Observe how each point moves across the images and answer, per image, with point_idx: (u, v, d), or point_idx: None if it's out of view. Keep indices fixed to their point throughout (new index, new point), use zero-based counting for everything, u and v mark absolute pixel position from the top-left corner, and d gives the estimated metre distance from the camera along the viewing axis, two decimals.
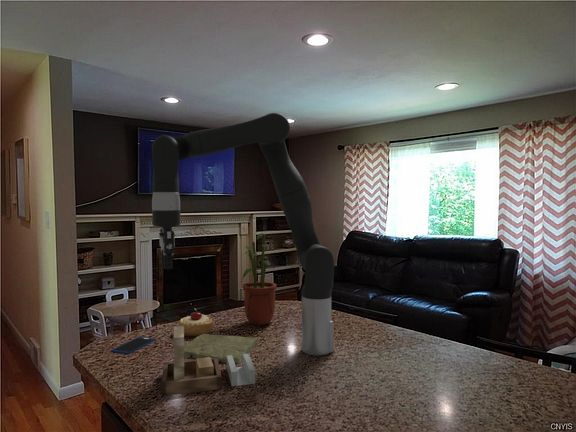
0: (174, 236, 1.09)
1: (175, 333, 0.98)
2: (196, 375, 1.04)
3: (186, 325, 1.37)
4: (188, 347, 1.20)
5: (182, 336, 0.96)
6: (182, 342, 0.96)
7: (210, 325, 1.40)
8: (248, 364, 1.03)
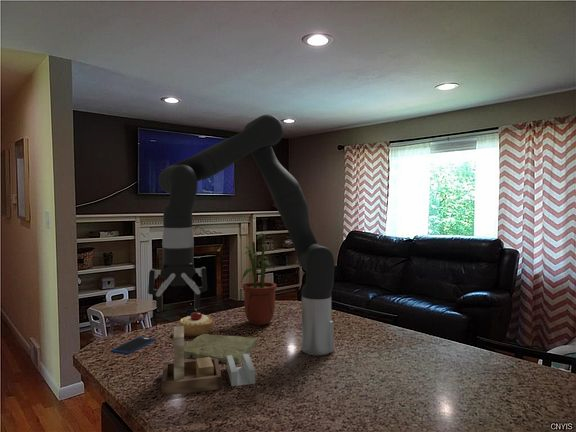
0: None
1: (175, 333, 0.98)
2: (196, 375, 1.04)
3: (186, 325, 1.37)
4: (188, 347, 1.20)
5: (182, 336, 0.96)
6: (182, 342, 0.96)
7: (210, 325, 1.40)
8: (248, 364, 1.03)
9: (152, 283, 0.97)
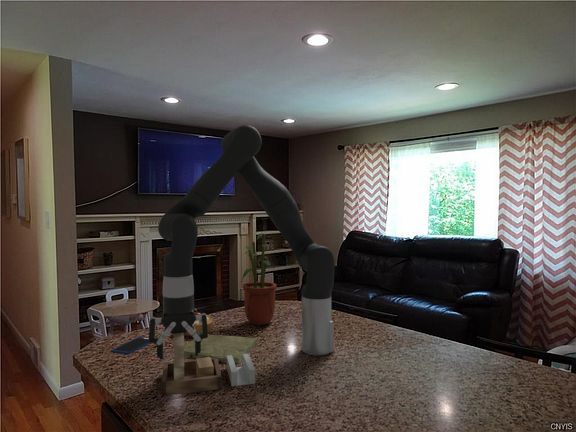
0: None
1: (175, 333, 0.98)
2: (196, 375, 1.04)
3: None
4: (188, 347, 1.20)
5: (182, 336, 0.96)
6: (182, 342, 0.96)
7: (210, 325, 1.40)
8: (248, 364, 1.03)
9: (153, 332, 0.97)
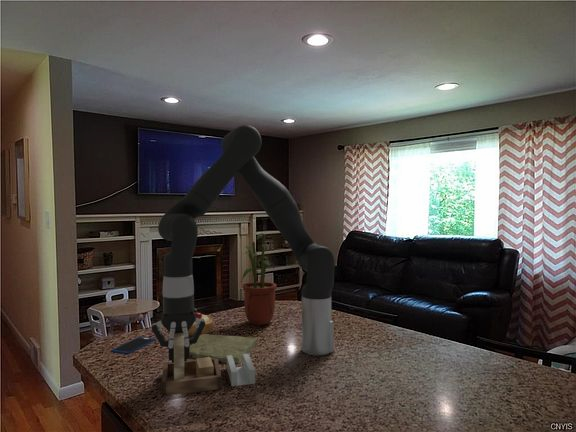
0: None
1: (175, 333, 0.98)
2: (196, 375, 1.04)
3: None
4: None
5: (182, 336, 0.96)
6: (182, 342, 0.96)
7: (210, 325, 1.40)
8: (248, 364, 1.03)
9: (160, 336, 0.98)
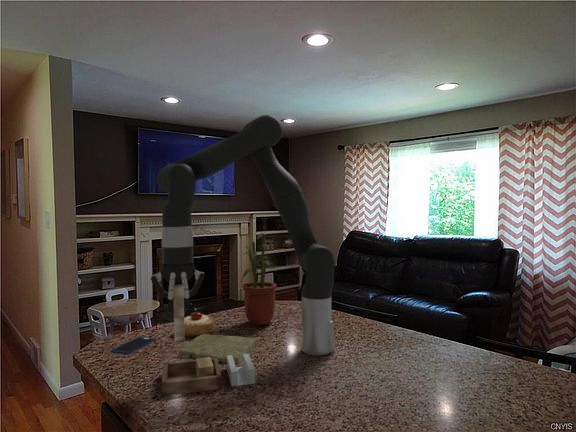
0: None
1: None
2: (196, 375, 1.04)
3: (186, 325, 1.37)
4: (188, 347, 1.20)
5: (182, 286, 0.96)
6: (182, 292, 0.95)
7: (210, 325, 1.40)
8: (248, 364, 1.03)
9: (159, 287, 0.97)
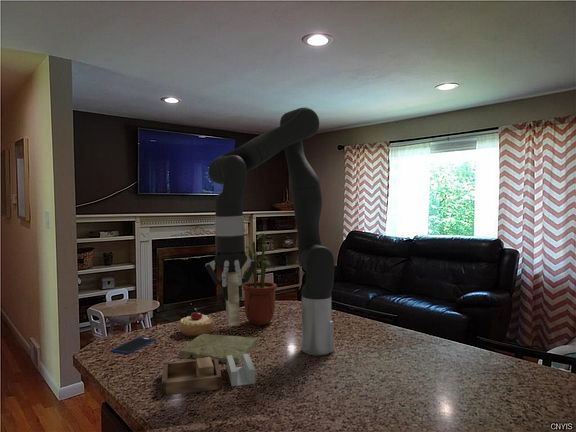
0: None
1: (228, 272, 1.01)
2: (196, 375, 1.04)
3: (186, 325, 1.37)
4: (188, 347, 1.20)
5: (236, 273, 0.99)
6: (236, 279, 0.99)
7: (210, 325, 1.40)
8: (248, 364, 1.03)
9: (214, 275, 1.01)
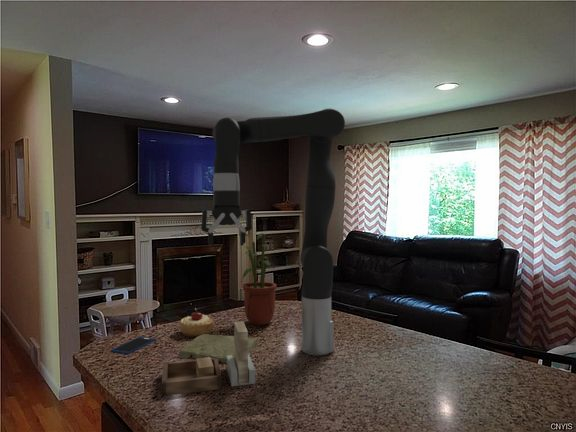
0: None
1: (238, 328, 1.02)
2: (196, 375, 1.04)
3: (187, 325, 1.37)
4: (188, 347, 1.20)
5: (246, 331, 1.00)
6: (246, 336, 1.00)
7: (211, 325, 1.40)
8: (248, 364, 1.03)
9: (205, 221, 1.11)
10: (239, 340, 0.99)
